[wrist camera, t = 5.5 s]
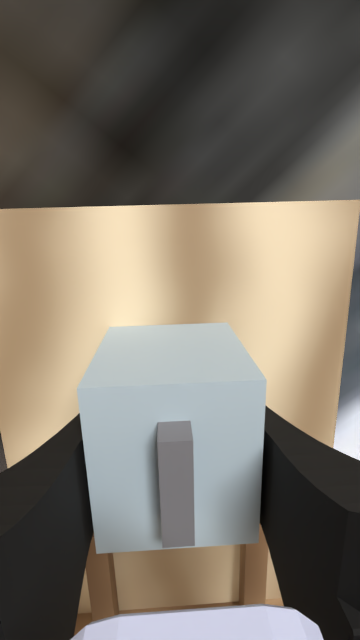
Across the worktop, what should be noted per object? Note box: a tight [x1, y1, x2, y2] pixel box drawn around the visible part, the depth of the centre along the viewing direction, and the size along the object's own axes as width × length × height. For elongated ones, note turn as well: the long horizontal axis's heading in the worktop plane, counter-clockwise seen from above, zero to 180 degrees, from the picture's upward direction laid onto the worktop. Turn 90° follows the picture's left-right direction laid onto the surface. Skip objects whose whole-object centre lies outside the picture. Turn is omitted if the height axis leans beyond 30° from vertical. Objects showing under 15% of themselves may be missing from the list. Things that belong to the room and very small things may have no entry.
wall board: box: [0, 200, 360, 636], centre depth 14 cm, size 14×20×2 cm
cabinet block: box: [77, 322, 267, 554], centre depth 11 cm, size 4×5×6 cm
